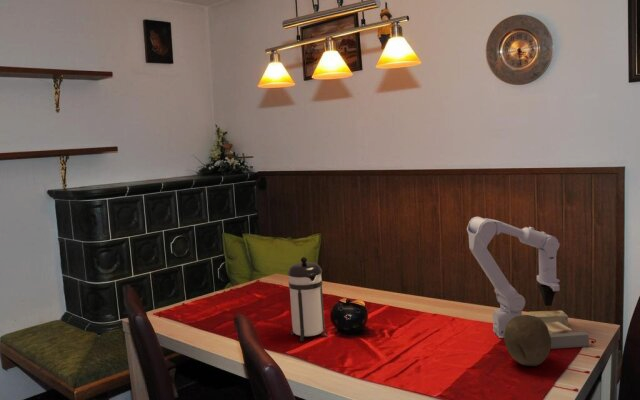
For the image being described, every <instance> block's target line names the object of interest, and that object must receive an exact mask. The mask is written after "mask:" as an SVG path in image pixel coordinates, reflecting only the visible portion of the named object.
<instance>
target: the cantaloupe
mask: <svg viewBox="0 0 640 400" xmlns="http://www.w3.org/2000/svg"><path fill="white" fill-rule="evenodd" d="M503 340H504V344H505V347H506V349H507V352H508V353H509V355H510V356H511V358H512V359H513V360H515V361H516V362H517V363H519V364H520V365H523V366H526V367H537V366H540V365H541V364H542V363H543V362H545V360H546V359H547V357H548V356H549V354H550V352H551V350H552V349H551V337H550V334H549V331H548V327H547V325H546V324H545V323H544V322H543V321H542V320H541V319H540V318H538V317H535V316H531V315H529V314H522V315H521V316H516V317H514V318H512V319H511V320H510V321H509V322H508V324H507V326H506V328H505V332H504V338H503Z"/></svg>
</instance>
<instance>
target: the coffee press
mask: <svg viewBox="0 0 640 400" xmlns="http://www.w3.org/2000/svg"><path fill="white" fill-rule="evenodd" d="M300 261H301V262H297V263H294V264H292V265H290V267H289V268H288V270H287V275H288V288H289V295H290V298H289V299H290V311H291V312H290V313H291V324H292V325H291V326H292V327H291V330H290V331H289V334H290V335H292V336H293V335H294V334H295V335H296V336H300V337H299V342H300V343H305V340H306V338H307V337H315V336H318V335H322V336H323V338H327V337H328V336H329V333H328V331H327V330H326V326H325V325H326V324H325V312H324V309H325V308H324V297H323V296H324V294H323V279H322V273H323V269H322V268H321V266H320V265H319V264H318V263H315V262H311V261H309V262H307V261H308V259H307V258H306V257H305V256H303V257H301V259H300Z"/></svg>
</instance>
